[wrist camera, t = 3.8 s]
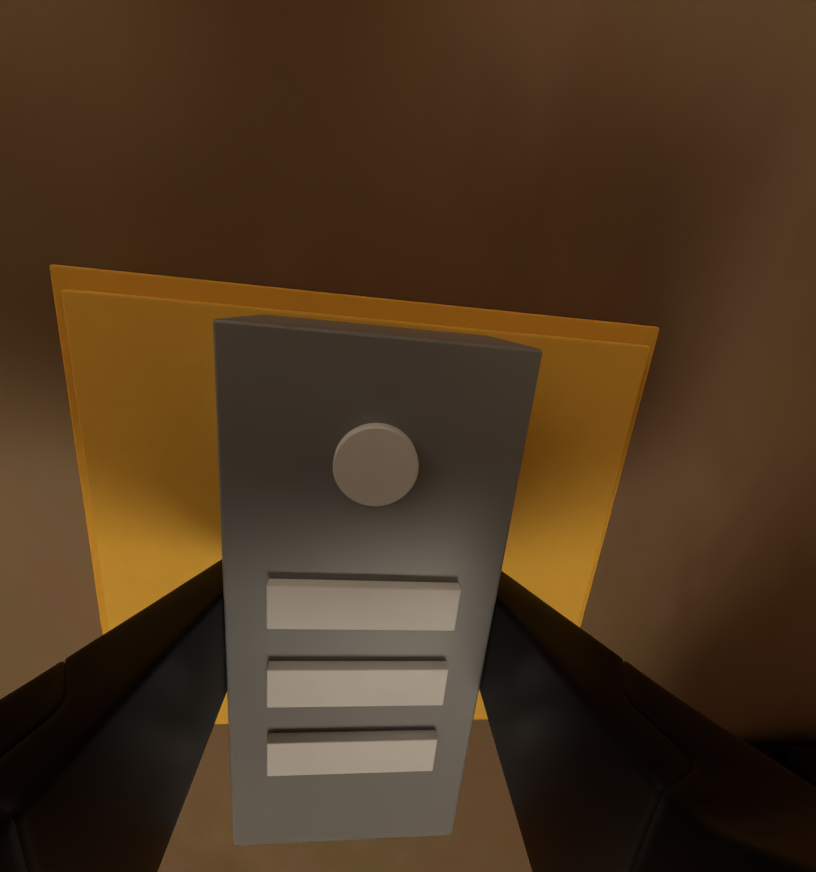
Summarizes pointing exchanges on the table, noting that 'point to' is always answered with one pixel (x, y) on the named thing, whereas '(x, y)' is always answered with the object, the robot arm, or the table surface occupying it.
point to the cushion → (197, 426)
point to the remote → (359, 565)
